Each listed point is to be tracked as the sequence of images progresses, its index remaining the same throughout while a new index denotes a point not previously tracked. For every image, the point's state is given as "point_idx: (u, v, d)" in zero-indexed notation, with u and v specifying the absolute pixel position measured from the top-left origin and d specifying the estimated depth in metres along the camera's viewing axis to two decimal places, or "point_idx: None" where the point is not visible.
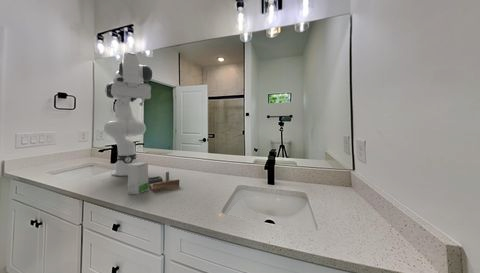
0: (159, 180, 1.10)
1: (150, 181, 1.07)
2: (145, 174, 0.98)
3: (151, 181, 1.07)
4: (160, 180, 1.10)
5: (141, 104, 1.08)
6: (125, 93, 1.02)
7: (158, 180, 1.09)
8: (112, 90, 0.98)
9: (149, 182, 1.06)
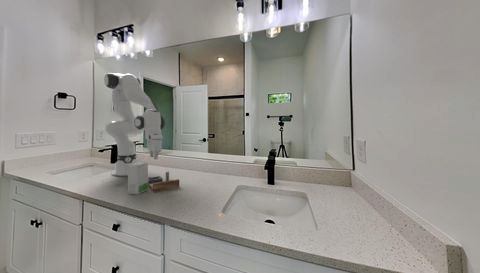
0: (159, 180, 1.10)
1: (150, 181, 1.07)
2: (145, 174, 0.98)
3: (151, 181, 1.07)
4: (160, 180, 1.10)
5: None
6: None
7: (158, 180, 1.09)
8: None
9: (149, 182, 1.06)
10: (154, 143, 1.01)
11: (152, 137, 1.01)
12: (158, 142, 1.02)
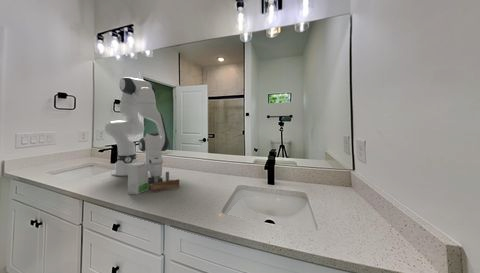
0: (159, 180, 1.10)
1: (150, 181, 1.07)
2: (145, 174, 0.98)
3: (151, 181, 1.07)
4: (160, 180, 1.10)
5: None
6: None
7: (158, 180, 1.09)
8: (161, 172, 1.04)
9: (149, 182, 1.06)
10: (155, 168, 1.02)
11: (153, 162, 1.02)
12: (158, 166, 1.03)
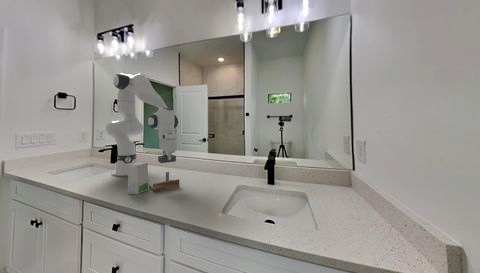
0: (172, 158, 1.04)
1: (163, 158, 1.01)
2: (145, 174, 0.98)
3: (164, 158, 1.01)
4: (173, 158, 1.05)
5: None
6: None
7: (171, 158, 1.04)
8: (175, 148, 0.99)
9: (162, 159, 1.01)
10: (169, 143, 0.96)
11: (167, 137, 0.96)
12: (173, 142, 0.97)
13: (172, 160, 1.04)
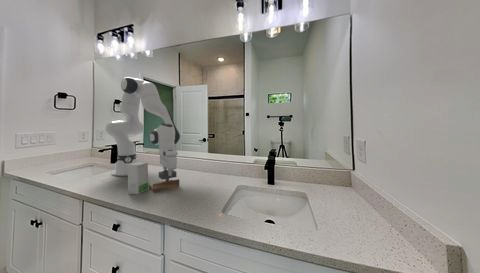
0: (173, 173, 1.05)
1: (164, 174, 1.02)
2: (145, 174, 0.98)
3: (165, 174, 1.02)
4: (174, 173, 1.05)
5: None
6: None
7: (172, 173, 1.04)
8: None
9: (163, 175, 1.01)
10: (169, 160, 0.97)
11: (167, 154, 0.97)
12: (173, 159, 0.98)
13: (173, 176, 1.05)
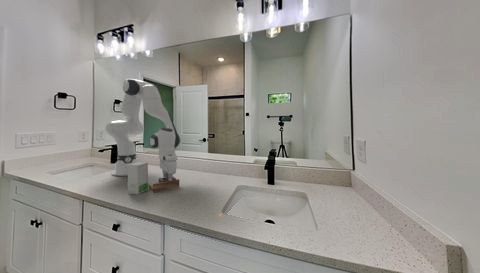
0: None
1: (164, 181, 1.02)
2: (145, 174, 0.98)
3: (164, 181, 1.02)
4: None
5: None
6: None
7: None
8: None
9: None
10: (169, 165, 0.97)
11: (167, 159, 0.97)
12: (173, 164, 0.98)
13: None
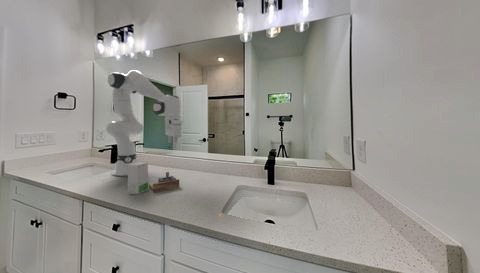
0: None
1: (164, 181, 1.02)
2: (145, 174, 0.98)
3: (164, 181, 1.02)
4: None
5: None
6: None
7: None
8: None
9: None
10: (174, 128, 1.02)
11: (173, 122, 1.02)
12: (178, 127, 1.03)
13: None
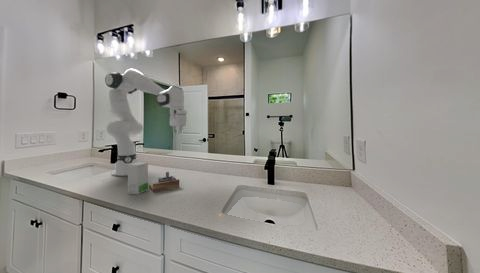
0: None
1: (164, 181, 1.02)
2: (145, 174, 0.98)
3: (164, 181, 1.02)
4: None
5: None
6: None
7: None
8: (185, 122, 1.09)
9: None
10: (179, 117, 1.07)
11: (178, 111, 1.07)
12: (183, 116, 1.08)
13: None
